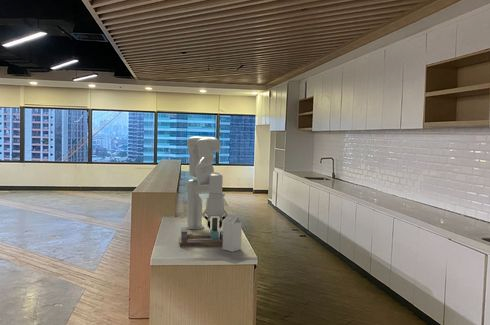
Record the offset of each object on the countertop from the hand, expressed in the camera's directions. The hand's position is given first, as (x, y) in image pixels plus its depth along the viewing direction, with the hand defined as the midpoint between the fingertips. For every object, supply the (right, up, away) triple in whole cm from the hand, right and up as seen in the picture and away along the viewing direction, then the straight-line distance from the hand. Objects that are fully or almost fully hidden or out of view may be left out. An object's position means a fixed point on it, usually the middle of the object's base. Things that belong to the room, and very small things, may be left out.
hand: (214, 227), depth 249 cm
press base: (-7, -9, -1) cm, 11 cm away
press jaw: (0, -7, 0) cm, 7 cm away
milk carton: (+10, -10, -12) cm, 19 cm away
